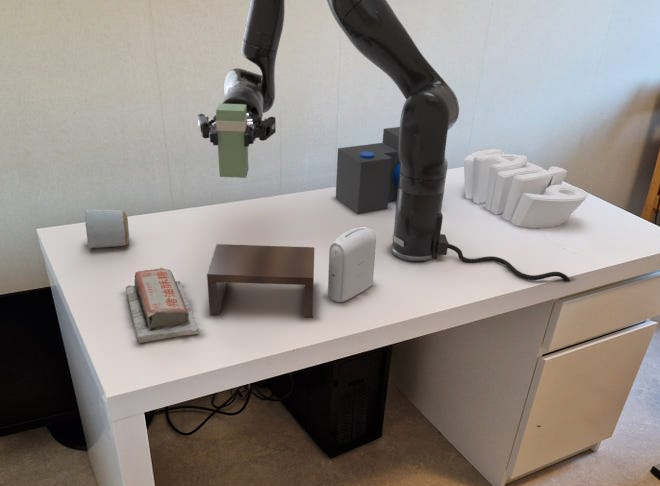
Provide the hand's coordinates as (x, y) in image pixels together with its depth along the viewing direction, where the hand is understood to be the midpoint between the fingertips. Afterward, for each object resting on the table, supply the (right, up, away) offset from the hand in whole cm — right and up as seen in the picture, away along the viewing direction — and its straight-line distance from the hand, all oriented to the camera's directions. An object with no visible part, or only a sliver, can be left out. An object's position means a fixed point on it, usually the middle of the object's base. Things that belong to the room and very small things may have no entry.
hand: (230, 139), depth 108 cm
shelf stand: (+4, -25, +14) cm, 29 cm away
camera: (+32, +3, +56) cm, 65 cm away
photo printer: (+20, -23, +18) cm, 35 cm away
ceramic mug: (-30, -11, +31) cm, 45 cm away
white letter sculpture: (+61, +2, +57) cm, 84 cm away
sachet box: (0, -4, +6) cm, 7 cm away
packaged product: (-14, -28, +8) cm, 32 cm away
